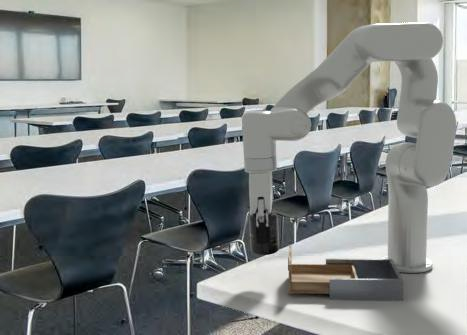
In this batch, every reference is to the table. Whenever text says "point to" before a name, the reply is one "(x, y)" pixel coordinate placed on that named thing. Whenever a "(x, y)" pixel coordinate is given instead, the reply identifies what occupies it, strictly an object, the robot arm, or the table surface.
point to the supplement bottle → (274, 235)
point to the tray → (315, 276)
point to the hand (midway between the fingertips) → (264, 237)
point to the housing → (367, 281)
